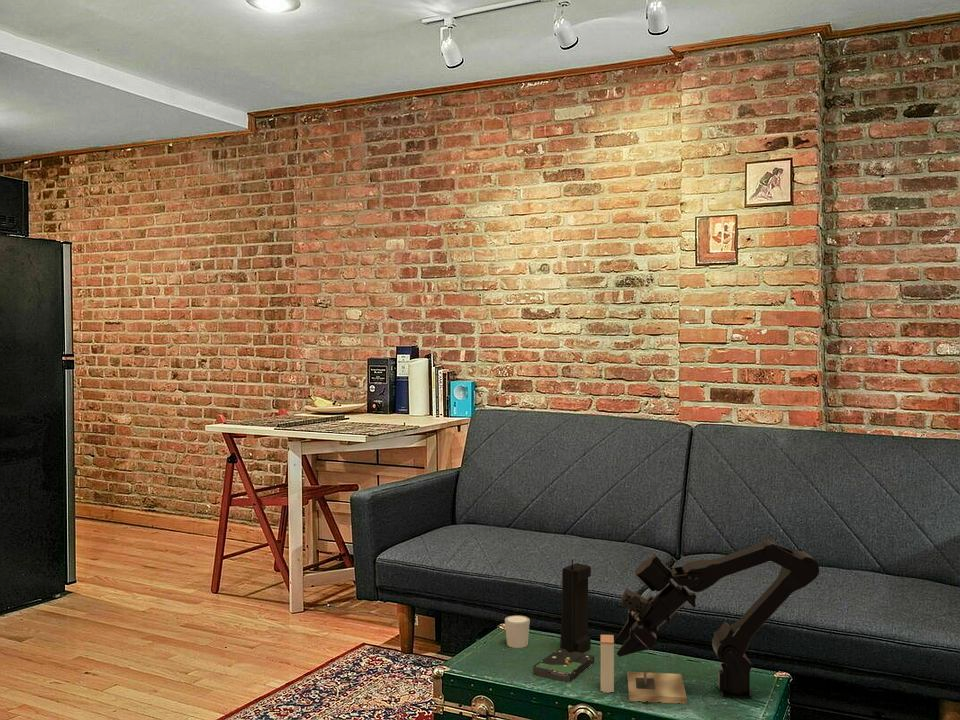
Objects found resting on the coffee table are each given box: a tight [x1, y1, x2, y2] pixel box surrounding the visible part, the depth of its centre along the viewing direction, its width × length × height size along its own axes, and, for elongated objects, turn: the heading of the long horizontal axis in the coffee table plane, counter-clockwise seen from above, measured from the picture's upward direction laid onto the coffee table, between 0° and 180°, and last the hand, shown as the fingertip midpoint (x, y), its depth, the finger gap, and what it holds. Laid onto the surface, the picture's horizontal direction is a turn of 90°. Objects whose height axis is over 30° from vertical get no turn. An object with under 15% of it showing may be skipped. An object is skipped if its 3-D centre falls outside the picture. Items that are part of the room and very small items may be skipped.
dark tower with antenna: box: [559, 559, 592, 653], centre depth 238 cm, size 8×6×25 cm
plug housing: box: [600, 634, 615, 693], centre depth 212 cm, size 3×5×12 cm, turn 173°
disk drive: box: [532, 647, 595, 683], centre depth 225 cm, size 10×3×15 cm
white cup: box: [504, 615, 531, 649], centre depth 242 cm, size 7×7×7 cm
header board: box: [626, 668, 688, 705], centre depth 211 cm, size 13×14×4 cm
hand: (617, 648), depth 212 cm, fingers open, 9 cm apart
